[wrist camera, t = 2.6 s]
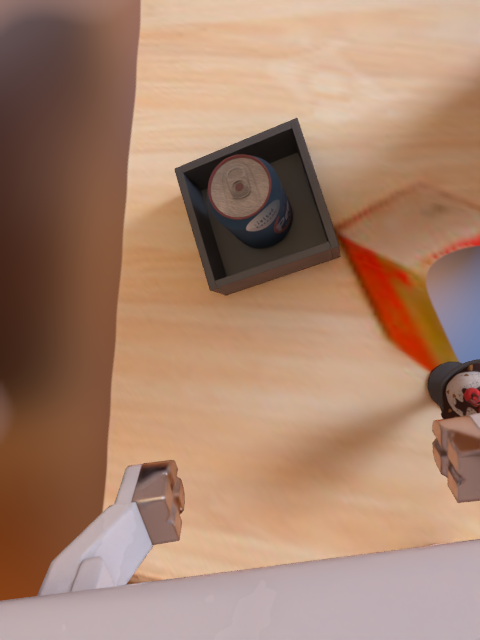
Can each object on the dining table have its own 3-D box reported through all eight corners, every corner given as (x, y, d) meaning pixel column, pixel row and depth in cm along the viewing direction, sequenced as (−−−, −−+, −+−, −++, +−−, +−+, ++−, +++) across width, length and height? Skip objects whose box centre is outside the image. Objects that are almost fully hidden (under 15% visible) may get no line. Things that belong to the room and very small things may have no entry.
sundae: (408, 366, 47) (437, 381, 32) (474, 344, 45) (535, 350, 31) (432, 426, 46) (472, 470, 31) (499, 406, 44) (574, 443, 30)
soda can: (301, 238, 49) (287, 210, 38) (243, 258, 51) (212, 236, 39) (284, 181, 50) (265, 135, 38) (227, 202, 51) (192, 164, 40)
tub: (303, 143, 50) (297, 117, 44) (340, 256, 48) (339, 246, 42) (193, 187, 53) (174, 168, 47) (225, 295, 51) (209, 290, 45)
